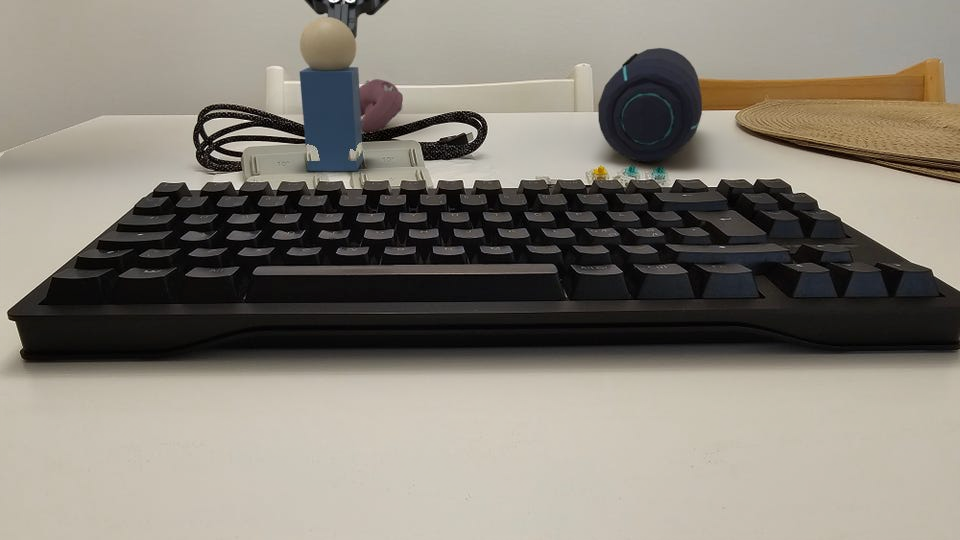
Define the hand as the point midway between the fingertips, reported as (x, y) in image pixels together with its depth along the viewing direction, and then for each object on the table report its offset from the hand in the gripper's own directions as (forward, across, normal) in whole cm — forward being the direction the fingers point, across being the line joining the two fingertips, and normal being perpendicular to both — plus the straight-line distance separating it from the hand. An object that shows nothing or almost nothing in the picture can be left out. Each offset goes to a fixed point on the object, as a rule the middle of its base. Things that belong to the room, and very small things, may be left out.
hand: (341, 39), depth 70 cm
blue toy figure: (+14, 0, +2) cm, 14 cm away
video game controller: (-2, +1, +18) cm, 18 cm away
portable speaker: (+7, +33, +9) cm, 35 cm away
